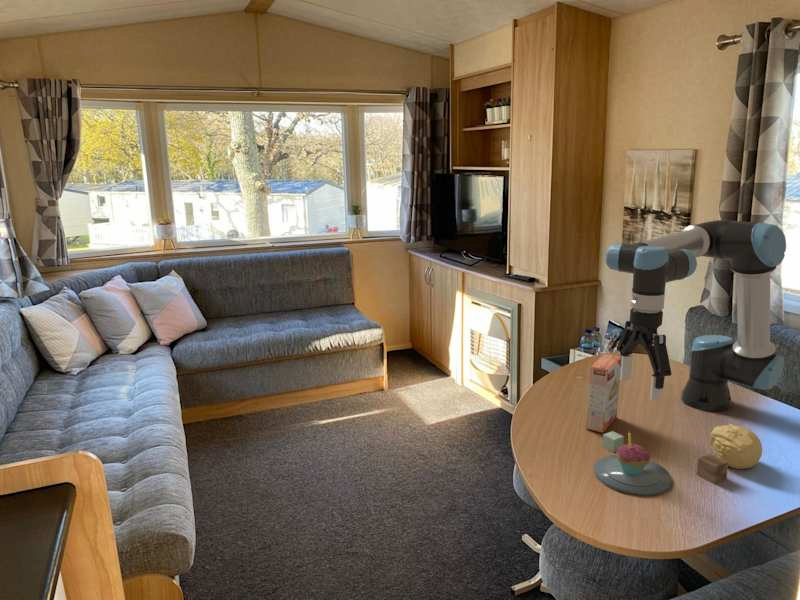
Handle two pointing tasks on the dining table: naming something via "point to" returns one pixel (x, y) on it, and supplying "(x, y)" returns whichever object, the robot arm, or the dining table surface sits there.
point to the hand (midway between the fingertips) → (639, 389)
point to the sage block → (612, 441)
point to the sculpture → (736, 446)
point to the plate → (632, 477)
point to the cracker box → (603, 393)
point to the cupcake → (632, 457)
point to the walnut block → (712, 468)
